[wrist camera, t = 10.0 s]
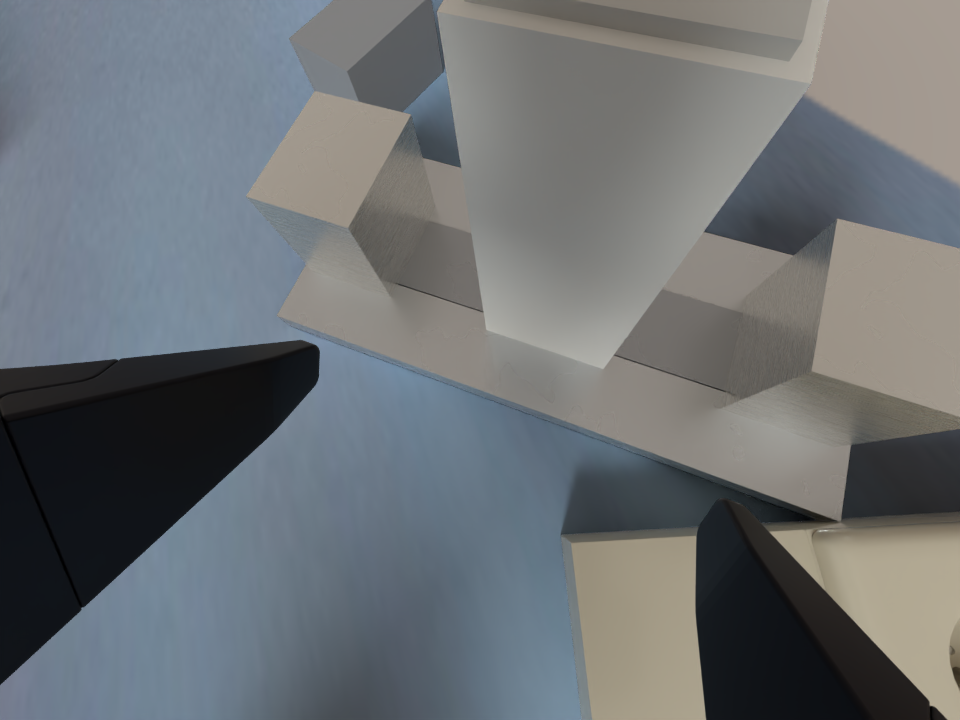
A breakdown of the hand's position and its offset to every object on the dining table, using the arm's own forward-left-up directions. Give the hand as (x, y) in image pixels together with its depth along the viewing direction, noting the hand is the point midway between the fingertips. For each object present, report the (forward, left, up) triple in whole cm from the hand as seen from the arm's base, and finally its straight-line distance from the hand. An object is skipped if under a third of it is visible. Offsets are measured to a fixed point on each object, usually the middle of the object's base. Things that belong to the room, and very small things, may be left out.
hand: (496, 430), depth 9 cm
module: (+6, +5, -7) cm, 10 cm away
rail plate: (+6, +5, -8) cm, 11 cm away
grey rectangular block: (+4, +21, -8) cm, 23 cm away
